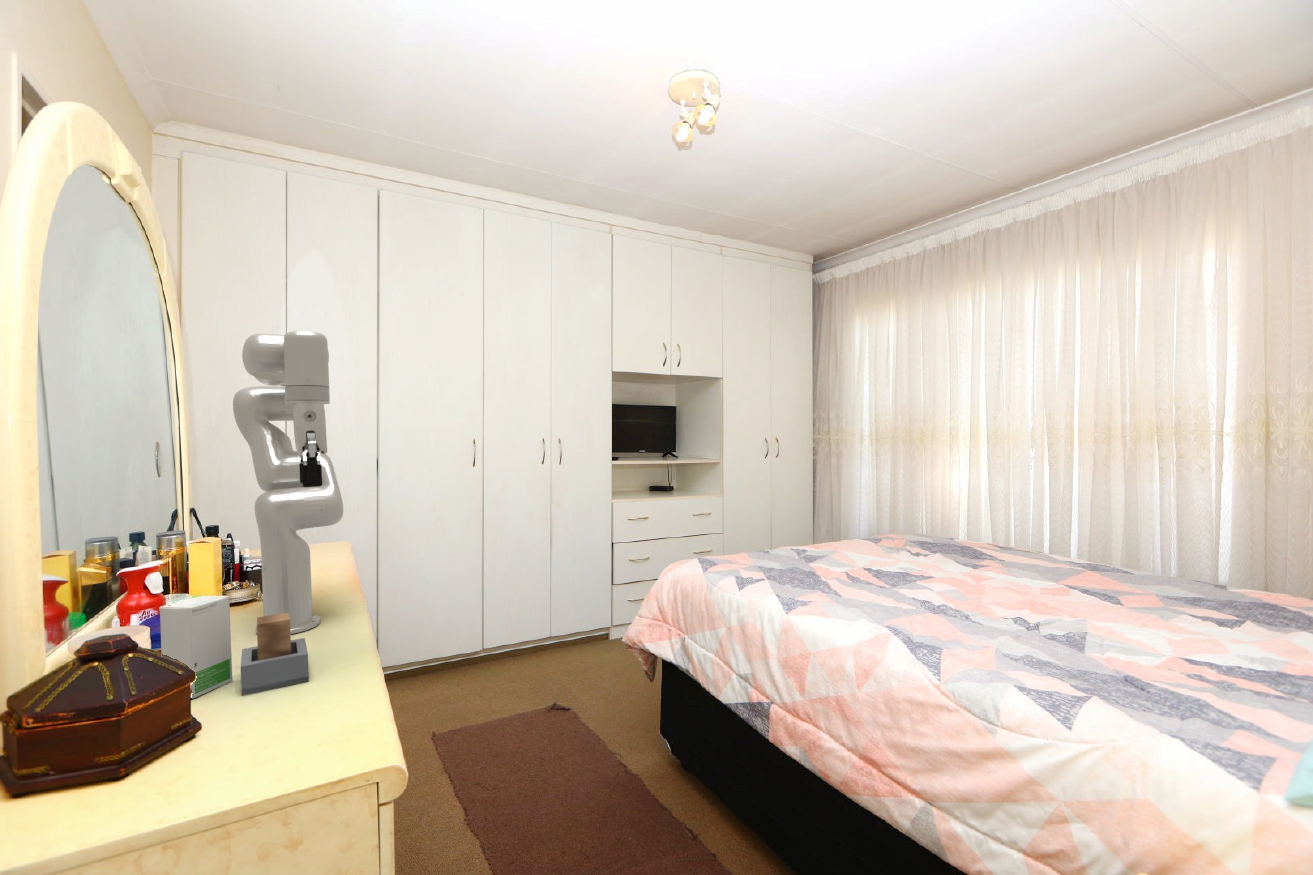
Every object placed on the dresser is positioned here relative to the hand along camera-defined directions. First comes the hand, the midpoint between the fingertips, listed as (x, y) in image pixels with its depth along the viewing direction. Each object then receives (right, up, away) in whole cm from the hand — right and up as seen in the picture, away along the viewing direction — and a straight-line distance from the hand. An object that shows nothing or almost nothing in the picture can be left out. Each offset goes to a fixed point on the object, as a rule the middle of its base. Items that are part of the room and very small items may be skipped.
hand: (310, 484), depth 120 cm
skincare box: (-13, -35, -12) cm, 39 cm away
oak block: (-2, -34, -8) cm, 35 cm away
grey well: (-2, -35, -8) cm, 36 cm away
